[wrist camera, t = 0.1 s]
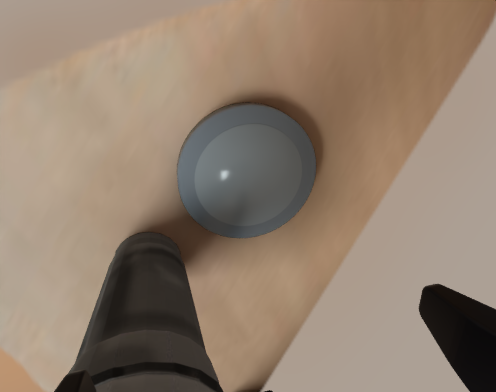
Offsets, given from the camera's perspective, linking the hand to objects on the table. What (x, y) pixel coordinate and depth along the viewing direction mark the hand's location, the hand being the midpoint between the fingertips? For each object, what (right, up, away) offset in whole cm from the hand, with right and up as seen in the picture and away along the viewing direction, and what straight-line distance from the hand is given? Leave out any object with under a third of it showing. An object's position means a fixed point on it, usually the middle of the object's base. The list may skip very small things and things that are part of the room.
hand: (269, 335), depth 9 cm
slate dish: (-1, +5, +14) cm, 15 cm away
